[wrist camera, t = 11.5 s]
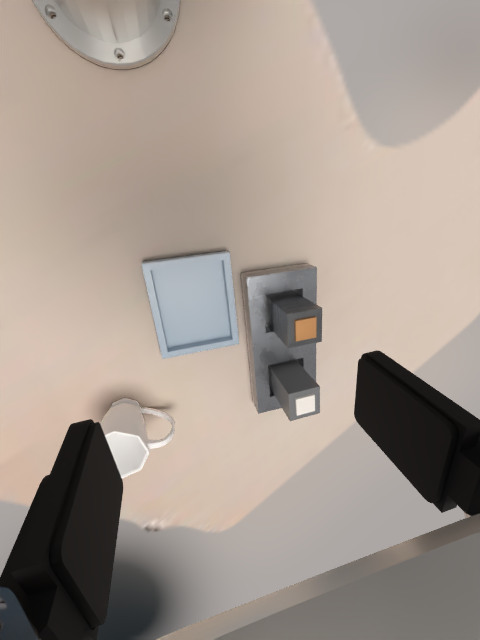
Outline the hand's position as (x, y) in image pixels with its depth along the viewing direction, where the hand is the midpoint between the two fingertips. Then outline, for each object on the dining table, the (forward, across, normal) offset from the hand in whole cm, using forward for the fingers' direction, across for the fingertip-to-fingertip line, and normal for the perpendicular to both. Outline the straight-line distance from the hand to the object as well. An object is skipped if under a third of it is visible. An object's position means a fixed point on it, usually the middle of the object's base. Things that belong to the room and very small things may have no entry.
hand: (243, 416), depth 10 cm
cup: (+27, +10, +19) cm, 34 cm away
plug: (+26, -11, +17) cm, 33 cm away
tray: (+27, 0, +5) cm, 27 cm away
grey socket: (+27, -11, +12) cm, 31 cm away
